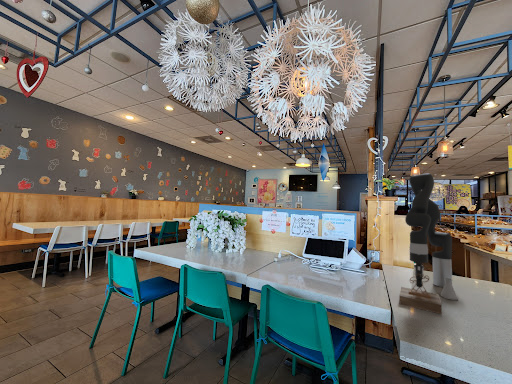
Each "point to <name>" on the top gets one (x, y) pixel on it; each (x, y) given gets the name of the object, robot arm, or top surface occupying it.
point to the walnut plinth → (421, 300)
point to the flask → (448, 290)
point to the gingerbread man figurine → (420, 289)
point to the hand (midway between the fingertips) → (419, 284)
